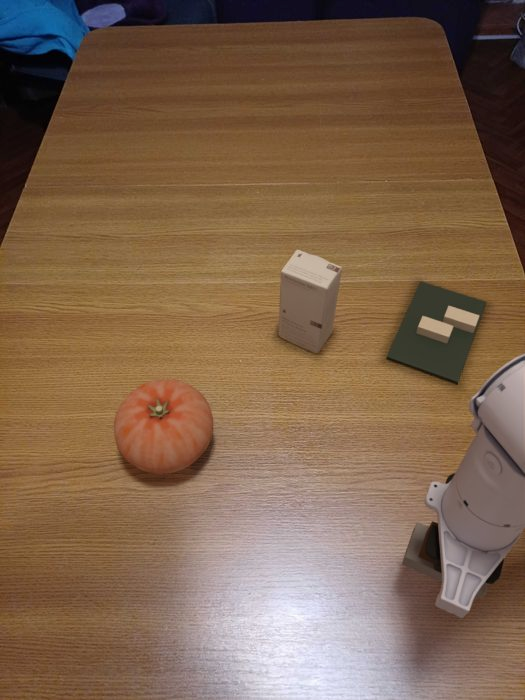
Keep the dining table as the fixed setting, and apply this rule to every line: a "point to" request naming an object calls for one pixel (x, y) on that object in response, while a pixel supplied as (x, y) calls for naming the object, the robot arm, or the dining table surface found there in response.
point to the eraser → (420, 561)
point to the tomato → (163, 426)
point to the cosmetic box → (308, 300)
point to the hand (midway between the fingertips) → (451, 554)
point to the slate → (430, 352)
